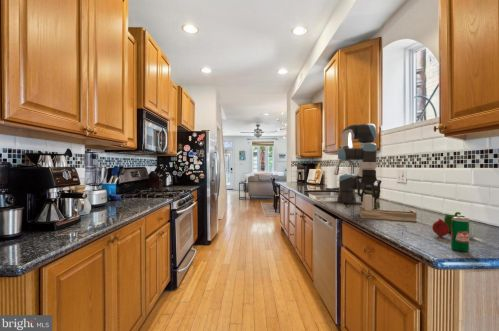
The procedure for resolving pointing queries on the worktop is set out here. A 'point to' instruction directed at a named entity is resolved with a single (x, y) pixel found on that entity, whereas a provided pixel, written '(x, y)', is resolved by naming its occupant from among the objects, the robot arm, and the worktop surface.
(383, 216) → the track
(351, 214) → the worktop surface
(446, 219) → the bell pepper
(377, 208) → the coffee jar
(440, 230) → the onion
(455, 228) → the soda can
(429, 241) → the worktop surface
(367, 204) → the slider
